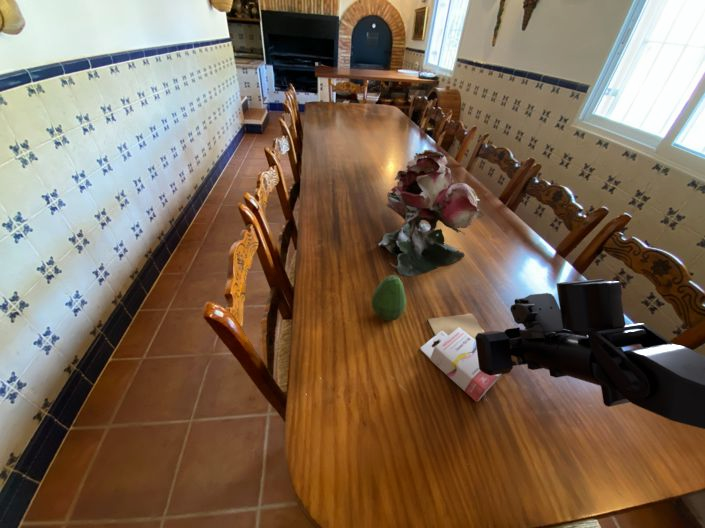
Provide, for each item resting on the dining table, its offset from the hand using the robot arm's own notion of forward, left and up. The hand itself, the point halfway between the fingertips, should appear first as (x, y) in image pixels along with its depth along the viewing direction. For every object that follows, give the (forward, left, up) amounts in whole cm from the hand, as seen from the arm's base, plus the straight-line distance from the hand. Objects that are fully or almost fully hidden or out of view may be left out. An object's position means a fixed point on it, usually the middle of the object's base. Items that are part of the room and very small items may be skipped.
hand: (498, 338), depth 56 cm
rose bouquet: (+34, -29, -11) cm, 46 cm away
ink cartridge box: (-4, +4, -8) cm, 9 cm away
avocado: (+23, +2, -11) cm, 26 cm away
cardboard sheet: (+5, -4, -11) cm, 12 cm away
